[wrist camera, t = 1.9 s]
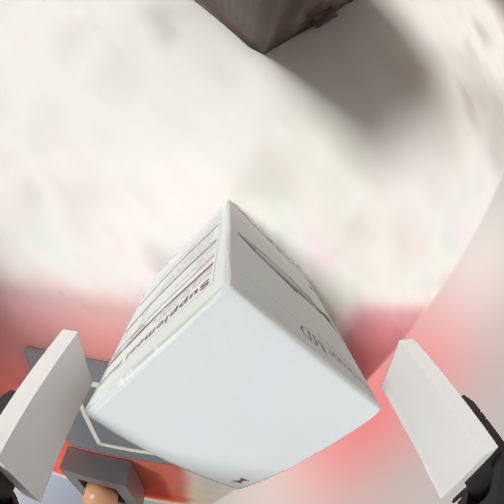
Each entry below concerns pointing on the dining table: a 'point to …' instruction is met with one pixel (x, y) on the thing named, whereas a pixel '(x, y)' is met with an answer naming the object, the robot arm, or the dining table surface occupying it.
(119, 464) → the button housing
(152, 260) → the dining table surface
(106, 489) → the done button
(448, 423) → the robot arm
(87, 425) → the slate board
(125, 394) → the supplement box
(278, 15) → the manual coffee grinder
